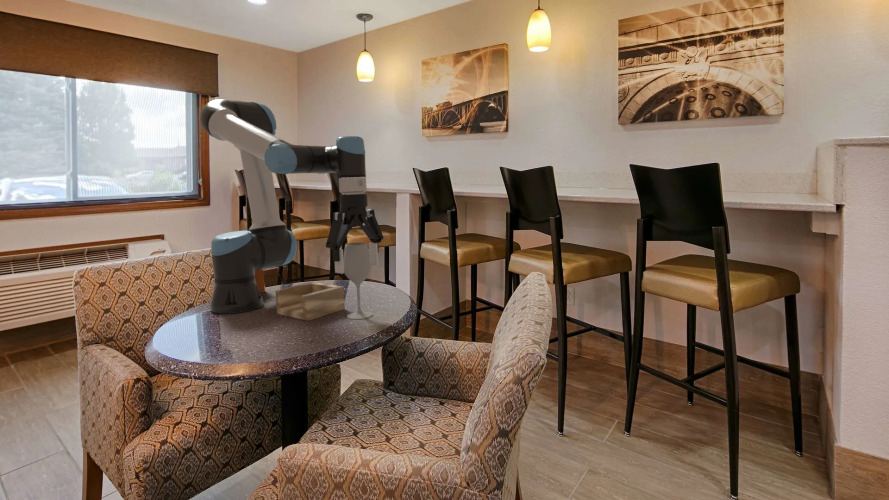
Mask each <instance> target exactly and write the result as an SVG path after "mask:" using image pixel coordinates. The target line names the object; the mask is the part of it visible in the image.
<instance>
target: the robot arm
mask: <svg viewBox="0 0 889 500" xmlns="http://www.w3.org/2000/svg"><path fill="white" fill-rule="evenodd" d="M199 120H200V124H201V128H202V129H203V130H204V131H205V133H207V134H208V136H211V137H213V138H215V139H216V140H219V141H221V142H222V141H223V142H224V141H227V142H229V143H230V144H232V145H233V146H234V147H235V148H236V149H237V150H238V151H240V157H241V163H242V169H243V175H244V181H245V186H246V192H247V198H248V203H249V209H250V210H249V211H250V215H251V220H252V224H251V226H250V227H249V229H248V230H236V231H229V232H225V233H221V234H218V235H216V236H215V237H214V238H212V240H211V243H210V244H211V248H210V249H211V250H210V254H211V257H212V259H211V260H212V268H213V269H212V270H213V278H214V287H213V292H212V294H211V300H210V303H209V304H210V311H211V312H212V313H216V314H238V313H246V312H249V311H253V310H257V309H259V308H261V307H263V305H264V299H263V296H262V293H260V291H259V289H258V286H257V284H256V282H255V270H261V269H263V270H266V269H270V268H271V269H272V268H278V267H282V266H285V265H288V264H290V263H291V262H292V261H293V260H294V258H295V257H296V254H297V248H298V244H297V243H298V242H297V238H296V236H295V234H294V232H293V231H291V230H289V229H287V225H286V223H285V222H283V221H282V220H281V218H280V213H279V207H278V206H279V205H278V200H277V194H276V188H275V182H274V177H273V174H279V175H288V174H290V175H292V174H294V175H295V174H319V175H321V174H322V175H323V174H332V173H333V174H335V173H338V189H339V190H338V191H339V193H341V194H340V195H339V207H340V208H341V211H342V212H337V211H336V212H333V214H332V223H331V226H330V230H329V233H328V237H327V239H326V243H325V247H326V248H328V249H330V250H332V260H333V262H334V273H335V274H345V273H344V249H342V246H343V244H344V243H345V240H346V239H347V236H348V234H349V233H350V230H352V229H353V228H361V230H362V231H363V232H364V234H365V235H366V237H367V238H368V239H369V241H370V242H369V243H368V251H369V257H370V264H371V266H379V251H380V250H379V248H380V247H379V244H380V243H382V241H383V240H384V234H383V233H382V230H381V227H380V224H379V223H378V220H377V218H376V213H375V209H373V208H367V207H368V205H369V204H368V203H369V201H368V195H367V190H368V189H367V187H368V186H367V171H366V170H367V169H366V149H365V142H364V138H363V137H361V136H357V135H353V136H352V135H347V136H344V135H343V136H338V137H336V141H335V142H336V143H335V145H325V146H324V145H323V146H322V145H303V144H293V143H290V142H287V141H286V140H284V139H282V138H280V137H277V136H275V135H276V130H277V121H276V116H275V114H274V113H273V111H272V110H271V108H269V107H268V106H267V105H265V104H263V103H258V102H254V101H243V100H241V101H240V100H235V99H233V100H232V99H225V98H220V99H219V98H218V99H213V100H210V101H209V102H207V104H205V105H204V106H203V107H202V109H201V112H200V115H199Z"/></svg>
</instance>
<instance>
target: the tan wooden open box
mask: <svg viewBox="0 0 889 500" xmlns="http://www.w3.org/2000/svg"><path fill="white" fill-rule="evenodd" d="M274 291H275V292H274V293H275V305H276V306H275V307H276V314H277V315H281V316H285V317H290V318H294V319H299V320H303V321H309V322H310V321H312V320H314V319H319V318H321V317H325V316H328V315H331V314H334V313H337V312H340V311H344V310H345V309H346V308H345V307H346V305H345V302H346V301H345V286H342V285H341V286H340V285H336V284H335V285H334V284H328V283H322V282H316V281H310V282H306V283H302V284H297V285H293V286H290V287H285V288H281V289H277V290H274Z"/></svg>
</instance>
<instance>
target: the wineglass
mask: <svg viewBox="0 0 889 500" xmlns="http://www.w3.org/2000/svg"><path fill="white" fill-rule="evenodd" d="M343 259H344V273H343V274H344V275H345V276H346V277H347V279H348V280H349V281H351V282H352V283H353V284H354V285H355V286H356V297H357V309H356V311H355V312H350V313H348V314H346V319H349V320H366V319H368V318H371V317H372V316H373V313H372V312H369V311H363V310H362V309H361V295H360V294H361V293H360V292H361V291H360V287H361V284H362V283H363V282H364V281H365V280H366V279H367V278H368V276H369V275H370V272H371V266H372V265H371V264H370V256H369V246H368V243H367V242H360V241H359V242H358V241H357V242H348V243H345V245H344V249H343Z"/></svg>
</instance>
